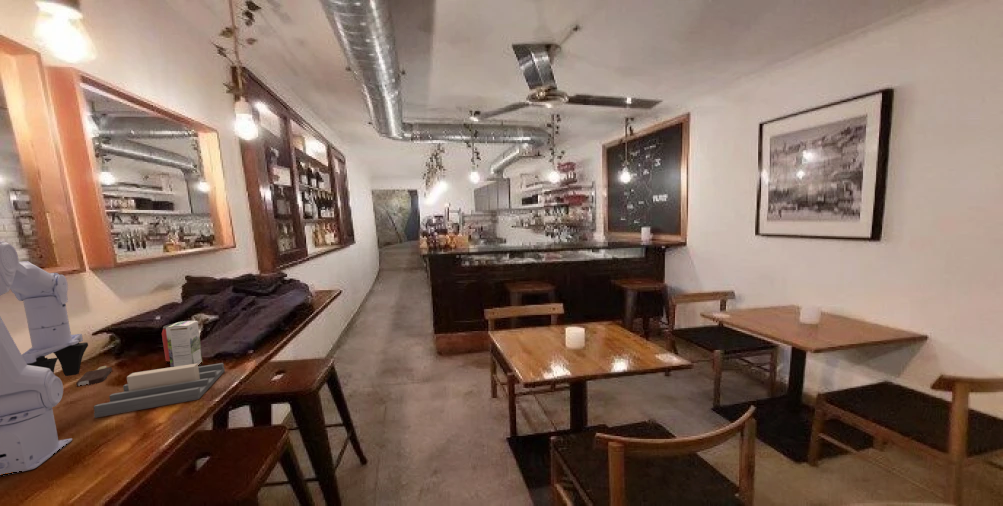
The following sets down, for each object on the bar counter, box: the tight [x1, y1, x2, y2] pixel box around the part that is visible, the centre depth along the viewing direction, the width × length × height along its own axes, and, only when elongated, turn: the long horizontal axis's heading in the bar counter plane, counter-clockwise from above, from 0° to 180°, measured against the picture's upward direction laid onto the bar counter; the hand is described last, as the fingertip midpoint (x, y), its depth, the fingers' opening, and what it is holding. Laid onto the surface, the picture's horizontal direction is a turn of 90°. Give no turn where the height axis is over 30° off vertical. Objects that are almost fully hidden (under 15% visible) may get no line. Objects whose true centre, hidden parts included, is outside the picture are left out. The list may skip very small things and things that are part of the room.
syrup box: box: [166, 320, 203, 367], centre depth 110 cm, size 6×6×14 cm
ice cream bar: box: [75, 365, 113, 387], centre depth 107 cm, size 5×2×15 cm
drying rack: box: [93, 362, 226, 419], centre depth 95 cm, size 18×20×3 cm
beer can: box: [161, 322, 176, 362], centre depth 117 cm, size 7×7×12 cm
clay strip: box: [126, 363, 200, 391], centre depth 95 cm, size 14×2×5 cm, turn 111°
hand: (59, 381), depth 82 cm, fingers open, 7 cm apart
